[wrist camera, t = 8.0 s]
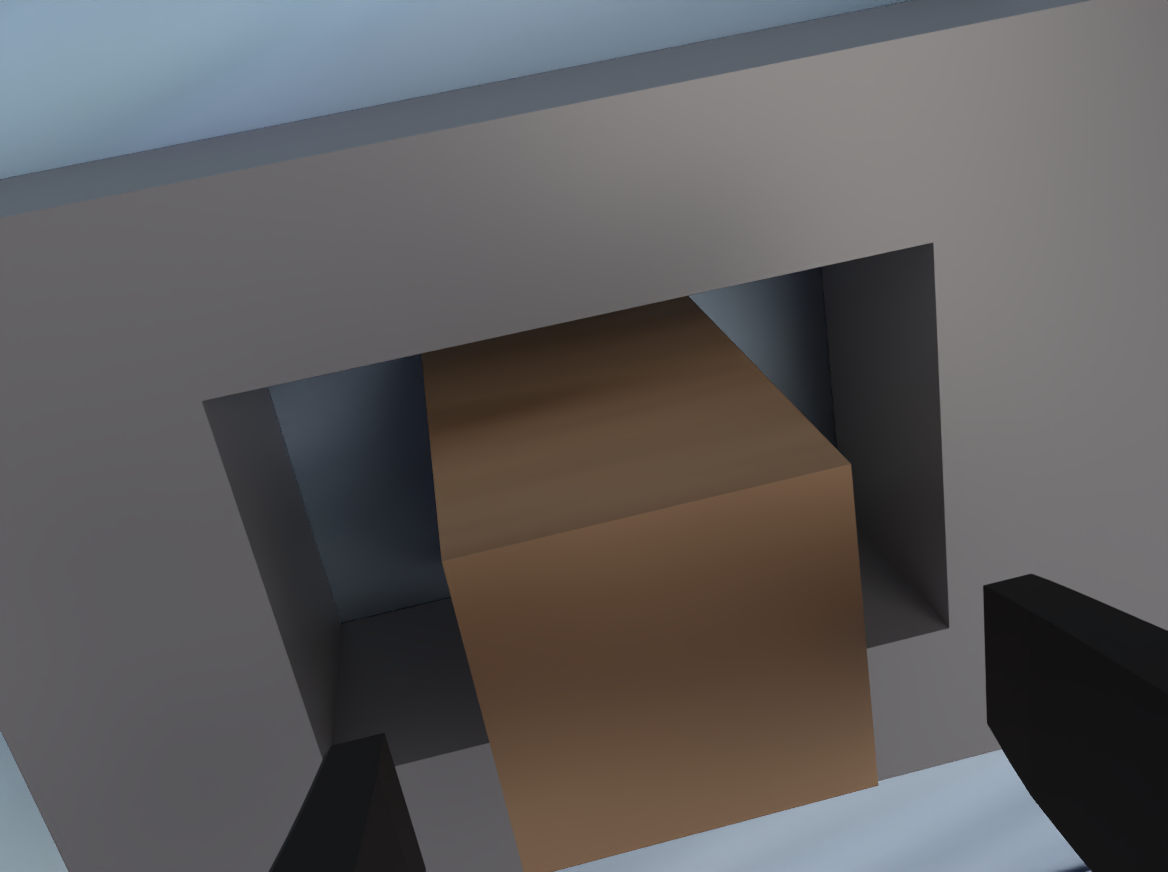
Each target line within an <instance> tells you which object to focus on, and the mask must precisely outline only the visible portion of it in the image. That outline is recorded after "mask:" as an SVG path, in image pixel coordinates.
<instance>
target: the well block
mask: <svg viewBox="0 0 1168 872" xmlns="http://www.w3.org/2000/svg"><path fill="white" fill-rule="evenodd" d="M817 267H822V278H823V290H824V302H825V314H826V326H827V337H828V349H829V361H830V373H831V385H832V396H833V408H834V420H835V432H836V444H837V450H838V451H839V452H840V453H841V454H842V455H843V456H844V457H845V458H846V459H847V460H848V461H849V462H850V463H851V469H852V481H853V493H854V505H855V517H856V528H857V540H858V552H859V564H860V576H861V587H862V599H863V611H864V623H865V635H866V646H867V658H868V670H869V682H870V694H871V705H872V717H873V729H874V741H875V753H876V764H877V776H878V781H881V780H885V779H888V778H892V777H896V776H900V775H904V774H908V773H911V772H915V771H919V770H923V769H927V768H931V767H934V766H938V765H942V764H946V763H950V762H954V761H957V760H961V759H965V758H969V757H973V756H977V755H980V754H984V753H988V752H992V751H996V750H1000V749H1002V748H1001V746H1000V745H999V743H998V741H997V740H996V738H995V736H994V735H993V733H992V731H991V729H990V728H989V726H988V724H987V711H986V674H985V637H984V601H983V585H987V584H991V583H995V582H999V581H1003V580H1007V579H1011V578H1015V577H1019V576H1023V575H1027V574H1034V575H1037V576H1040V577H1042V578H1045V579H1048V580H1050V581H1053V582H1055V583H1058V584H1060V585H1063V586H1065V587H1068V588H1070V589H1072V590H1075V591H1077V592H1079V593H1082V594H1084V595H1086V596H1089V597H1091V598H1093V599H1096V600H1098V601H1100V602H1103V603H1105V604H1107V605H1110V606H1112V607H1114V608H1116V609H1119V610H1121V611H1123V612H1126V613H1128V614H1130V615H1133V616H1135V617H1137V618H1139V619H1142V620H1144V621H1146V622H1149V623H1151V624H1153V625H1156V626H1158V627H1160V628H1163V629H1165V630H1167V631H1168V0H910V1H905V2H900V3H895V4H890V5H885V6H880V7H875V8H870V9H865V10H860V11H855V12H849V13H844V14H839V15H834V16H829V17H824V18H819V19H814V20H809V21H804V22H799V23H793V24H788V25H783V26H778V27H773V28H768V29H763V30H758V31H753V32H748V33H743V34H738V35H732V36H727V37H722V38H717V39H712V40H707V41H702V42H697V43H692V44H687V45H682V46H676V47H671V48H666V49H661V50H656V51H651V52H646V53H641V54H636V55H631V56H626V57H621V58H615V59H610V60H605V61H600V62H595V63H590V64H585V65H580V66H575V67H570V68H565V69H559V70H554V71H549V72H544V73H539V74H534V75H529V76H524V77H519V78H514V79H509V80H504V81H498V82H493V83H488V84H483V85H478V86H473V87H468V88H463V89H458V90H453V91H448V92H442V93H437V94H432V95H427V96H422V97H417V98H412V99H407V100H402V101H397V102H392V103H387V104H381V105H376V106H371V107H366V108H361V109H356V110H351V111H346V112H341V113H336V114H331V115H325V116H320V117H315V118H310V119H305V120H300V121H295V122H290V123H285V124H280V125H275V126H270V127H264V128H259V129H254V130H249V131H244V132H239V133H234V134H229V135H224V136H219V137H214V138H209V139H203V140H198V141H193V142H188V143H183V144H178V145H173V146H168V147H163V148H158V149H153V150H147V151H142V152H137V153H132V154H127V155H122V156H117V157H112V158H107V159H102V160H97V161H92V162H86V163H81V164H76V165H71V166H66V167H61V168H56V169H51V170H46V171H41V172H36V173H30V174H25V175H20V176H15V177H10V178H5V179H0V730H1V732H2V734H3V736H4V739H5V741H6V743H7V745H8V747H9V749H10V751H11V753H12V755H13V757H14V759H15V761H16V763H17V765H18V768H19V770H20V772H21V774H22V776H23V778H24V780H25V782H26V784H27V786H28V788H29V790H30V792H31V795H32V797H33V799H34V801H35V803H36V805H37V807H38V809H39V811H40V813H41V815H42V817H43V819H44V822H45V824H46V826H47V828H48V830H49V832H50V834H51V836H52V838H53V840H54V842H55V844H56V846H57V848H58V851H59V853H60V855H61V857H62V859H63V861H64V863H65V865H66V867H67V869H68V871H69V872H269V870H270V868H271V866H272V864H273V862H274V860H275V859H276V857H277V855H278V853H279V851H280V849H281V847H282V845H283V843H284V841H285V839H286V837H287V835H288V833H289V831H290V829H291V827H292V825H293V823H294V821H295V819H296V817H297V815H298V813H299V811H300V809H301V806H302V804H303V802H304V800H305V798H306V796H307V794H308V791H309V789H310V787H311V785H312V782H313V780H314V778H315V776H316V774H317V771H318V769H319V767H320V764H321V762H322V760H323V758H324V756H325V754H326V753H327V751H328V750H329V749H330V747H331V746H332V745H336V744H340V743H344V742H349V741H353V740H357V739H361V738H365V737H369V736H373V735H377V734H381V733H385V736H386V739H387V742H388V746H389V749H390V752H391V756H392V759H393V762H394V765H395V769H396V772H397V775H398V779H399V782H400V785H401V788H402V792H403V795H404V798H405V802H406V805H407V808H408V811H409V815H410V818H411V821H412V824H413V828H414V831H415V834H416V838H417V841H418V844H419V847H420V851H421V854H422V857H423V861H424V864H425V867H426V872H524V871H523V868H522V864H521V860H520V856H519V852H518V849H517V845H516V841H515V837H514V834H513V830H512V826H511V822H510V818H509V815H508V811H507V807H506V803H505V799H504V796H503V792H502V788H501V784H500V781H499V777H498V773H497V769H496V765H495V762H494V758H493V754H492V750H491V746H490V743H489V739H488V735H487V731H486V727H485V724H484V720H483V716H482V712H481V709H480V705H479V701H478V697H477V693H476V690H475V686H474V682H473V678H472V674H471V671H470V667H469V663H468V659H467V656H466V652H465V648H464V644H463V640H462V637H461V633H460V629H459V625H458V621H457V618H456V614H455V610H454V606H453V602H452V599H451V598H448V599H444V600H439V601H435V602H431V603H427V604H422V605H418V606H414V607H410V608H406V609H401V610H397V611H393V612H389V613H384V614H380V615H376V616H372V617H368V618H363V619H359V620H355V621H351V622H347V623H342V624H341V622H340V619H339V615H338V612H337V609H336V606H335V603H334V599H333V596H332V593H331V590H330V586H329V583H328V580H327V577H326V573H325V570H324V567H323V564H322V561H321V557H320V554H319V551H318V548H317V544H316V541H315V538H314V535H313V531H312V528H311V525H310V522H309V518H308V515H307V512H306V509H305V506H304V502H303V499H302V496H301V493H300V489H299V486H298V483H297V480H296V476H295V473H294V470H293V467H292V464H291V460H290V457H289V454H288V451H287V447H286V444H285V441H284V438H283V434H282V431H281V428H280V425H279V422H278V418H277V415H276V412H275V409H274V405H273V402H272V399H271V396H270V392H269V389H268V387H269V386H274V385H278V384H283V383H287V382H292V381H297V380H301V379H306V378H311V377H315V376H320V375H324V374H329V373H334V372H338V371H343V370H347V369H352V368H357V367H361V366H366V365H370V364H375V363H380V362H384V361H389V360H393V359H398V358H403V357H407V356H412V355H416V354H421V353H426V352H430V351H435V350H440V349H444V348H449V347H453V346H458V345H463V344H467V343H472V342H476V341H481V340H486V339H490V338H495V337H499V336H504V335H509V334H513V333H518V332H522V331H527V330H532V329H536V328H541V327H546V326H550V325H555V324H559V323H564V322H569V321H573V320H578V319H582V318H587V317H592V316H596V315H601V314H605V313H610V312H615V311H619V310H624V309H628V308H633V307H638V306H642V305H647V304H651V303H656V302H661V301H665V300H670V299H675V298H679V297H684V296H688V295H693V294H698V293H702V292H707V291H711V290H716V289H721V288H725V287H730V286H734V285H739V284H744V283H748V282H753V281H757V280H762V279H767V278H771V277H776V276H780V275H785V274H790V273H794V272H799V271H804V270H808V269H813V268H817Z"/></svg>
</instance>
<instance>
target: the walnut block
mask: <svg viewBox="0 0 1168 872" xmlns="http://www.w3.org/2000/svg"><path fill="white" fill-rule="evenodd" d="M421 356H422V366H423V377H424V387H425V397H426V407H427V417H428V427H429V438H430V448H431V458H432V468H433V478H434V488H435V499H436V509H437V519H438V529H439V539H440V549H441V560H442V565H443V568H444V572H445V576H446V580H447V584H448V587H449V591H450V595H451V599H452V602H453V606H454V610H455V614H456V618H457V621H458V625H459V629H460V633H461V637H462V640H463V644H464V648H465V652H466V656H467V659H468V663H469V667H470V671H471V674H472V678H473V682H474V686H475V690H476V693H477V697H478V701H479V705H480V709H481V712H482V716H483V720H484V724H485V727H486V731H487V735H488V739H489V743H490V746H491V750H492V754H493V758H494V762H495V765H496V769H497V773H498V777H499V781H500V784H501V788H502V792H503V796H504V799H505V803H506V807H507V811H508V815H509V818H510V822H511V826H512V830H513V834H514V837H515V841H516V845H517V849H518V852H519V856H520V860H521V864H522V868H523V871H524V872H553V871H557V870H561V869H565V868H568V867H572V866H576V865H580V864H583V863H587V862H591V861H595V860H599V859H602V858H606V857H610V856H614V855H618V854H621V853H625V852H629V851H633V850H636V849H640V848H644V847H648V846H652V845H655V844H659V843H663V842H667V841H670V840H674V839H678V838H682V837H686V836H689V835H693V834H697V833H701V832H704V831H708V830H712V829H716V828H720V827H723V826H727V825H731V824H735V823H738V822H742V821H746V820H750V819H754V818H757V817H761V816H765V815H769V814H772V813H776V812H780V811H784V810H788V809H791V808H795V807H799V806H803V805H806V804H810V803H814V802H818V801H822V800H825V799H829V798H833V797H837V796H841V795H844V794H848V793H852V792H856V791H859V790H863V789H867V788H871V787H875V786H878V776H877V764H876V753H875V741H874V729H873V717H872V705H871V694H870V682H869V670H868V658H867V646H866V635H865V623H864V611H863V599H862V587H861V576H860V564H859V552H858V540H857V528H856V517H855V505H854V493H853V481H852V469H851V463H850V462H849V461H848V460H847V459H846V458H845V457H844V456H843V455H842V454H841V453H840V452H839V451H838V450H837V449H836V448H835V447H834V446H833V445H832V444H831V443H830V442H829V441H828V440H827V439H826V438H825V437H824V436H823V435H822V434H821V432H820V431H819V430H818V429H817V428H816V427H815V426H814V425H813V424H812V423H811V422H810V421H809V420H808V419H807V418H806V417H805V416H804V415H803V414H802V413H801V412H800V411H799V410H798V409H797V408H796V407H795V406H794V405H793V404H792V403H791V402H790V401H789V399H788V398H787V397H786V396H785V395H784V394H783V393H782V392H781V391H780V390H779V389H778V388H777V387H776V386H775V385H774V384H773V383H772V382H771V381H770V380H769V379H768V378H767V377H766V376H765V375H764V374H763V373H762V372H761V371H760V370H759V369H758V368H757V366H756V365H755V364H754V363H753V362H752V361H751V360H750V359H749V358H748V357H747V356H746V355H745V354H744V353H743V352H742V351H741V350H740V349H739V348H738V347H737V346H736V345H735V344H734V343H733V342H732V341H731V340H730V339H729V338H728V337H727V336H726V335H725V333H724V332H723V331H722V330H721V329H720V328H719V327H718V326H717V325H716V324H715V323H714V322H713V321H712V320H711V319H710V318H709V317H708V316H707V315H706V314H705V313H704V312H703V311H702V310H701V309H700V308H699V307H698V306H697V305H696V304H695V303H694V302H693V300H692V299H691V298H690V297H689V296H684V297H679V298H675V299H670V300H665V301H661V302H656V303H651V304H647V305H642V306H638V307H633V308H628V309H624V310H619V311H615V312H610V313H605V314H601V315H596V316H592V317H587V318H582V319H578V320H573V321H569V322H564V323H559V324H555V325H550V326H546V327H541V328H536V329H532V330H527V331H522V332H518V333H513V334H509V335H504V336H499V337H495V338H490V339H486V340H481V341H476V342H472V343H467V344H463V345H458V346H453V347H449V348H444V349H440V350H435V351H430V352H426V353H421Z"/></svg>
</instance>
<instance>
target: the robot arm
mask: <svg viewBox="0 0 1168 872" xmlns="http://www.w3.org/2000/svg"><path fill="white" fill-rule="evenodd" d="M983 601H984V637H985V674H986V711H987V724H988V726H989V728H990V729H991V731H992V733H993V735H994V736H995V738H996V740H997V741H998V743H999V745H1000V746H1001V748H1002V750H1003V752H1004V753H1005V755H1006V757H1007V758H1008V760H1009V762H1010V763H1011V765H1012V767H1013V768H1014V770H1015V771H1016V773H1017V774H1018V776H1019V778H1020V779H1021V781H1022V782H1023V784H1024V785H1025V787H1026V789H1027V790H1028V792H1029V793H1030V795H1031V796H1032V798H1033V799H1034V800H1035V801H1036V803H1037V804H1038V805H1039V807H1040V808H1041V809H1042V810H1043V812H1044V813H1045V814H1046V815H1047V817H1048V818H1049V819H1050V820H1051V822H1052V823H1053V824H1054V826H1055V827H1056V828H1057V829H1058V831H1059V832H1060V833H1061V834H1062V836H1063V837H1064V838H1065V839H1066V841H1067V842H1068V843H1069V844H1070V846H1071V847H1072V848H1073V849H1074V851H1075V852H1076V853H1077V854H1078V855H1079V857H1080V858H1081V859H1082V860H1083V862H1084V863H1085V864H1086V865H1087V867H1088V868H1089V869H1090V870H1089V871H1086V872H1168V631H1167V630H1165V629H1163V628H1160V627H1158V626H1156V625H1153V624H1151V623H1149V622H1146V621H1144V620H1142V619H1139V618H1137V617H1135V616H1133V615H1130V614H1128V613H1126V612H1123V611H1121V610H1119V609H1116V608H1114V607H1112V606H1110V605H1107V604H1105V603H1103V602H1100V601H1098V600H1096V599H1093V598H1091V597H1089V596H1086V595H1084V594H1082V593H1079V592H1077V591H1075V590H1072V589H1070V588H1068V587H1065V586H1063V585H1060V584H1058V583H1055V582H1053V581H1050V580H1048V579H1045V578H1042V577H1040V576H1037V575H1034V574H1027V575H1023V576H1019V577H1015V578H1011V579H1007V580H1003V581H999V582H995V583H991V584H987V585H983ZM269 872H426V867H425V864H424V861H423V857H422V854H421V851H420V847H419V844H418V841H417V838H416V834H415V831H414V828H413V824H412V821H411V818H410V815H409V811H408V808H407V805H406V802H405V798H404V795H403V792H402V788H401V785H400V782H399V779H398V775H397V772H396V769H395V765H394V762H393V759H392V756H391V752H390V749H389V746H388V742H387V739H386V736H385V733H381V734H377V735H373V736H369V737H365V738H361V739H357V740H353V741H349V742H344V743H340V744H336V745H332V746H331V747H330V749H329V750H328V751H327V753H326V754H325V756H324V758H323V760H322V762H321V764H320V767H319V769H318V771H317V774H316V776H315V778H314V780H313V782H312V785H311V787H310V789H309V791H308V794H307V796H306V798H305V800H304V802H303V804H302V806H301V809H300V811H299V813H298V815H297V817H296V819H295V821H294V823H293V825H292V827H291V829H290V831H289V833H288V835H287V837H286V839H285V841H284V843H283V845H282V847H281V849H280V851H279V853H278V855H277V857H276V859H275V860H274V862H273V864H272V866H271V868H270V870H269Z"/></svg>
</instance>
